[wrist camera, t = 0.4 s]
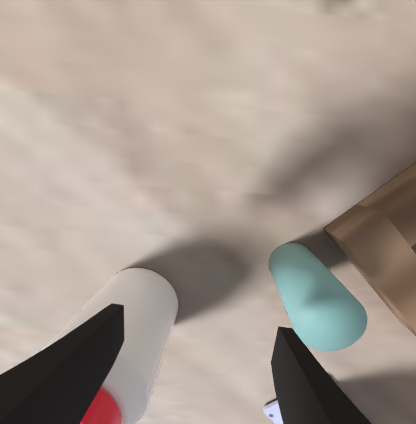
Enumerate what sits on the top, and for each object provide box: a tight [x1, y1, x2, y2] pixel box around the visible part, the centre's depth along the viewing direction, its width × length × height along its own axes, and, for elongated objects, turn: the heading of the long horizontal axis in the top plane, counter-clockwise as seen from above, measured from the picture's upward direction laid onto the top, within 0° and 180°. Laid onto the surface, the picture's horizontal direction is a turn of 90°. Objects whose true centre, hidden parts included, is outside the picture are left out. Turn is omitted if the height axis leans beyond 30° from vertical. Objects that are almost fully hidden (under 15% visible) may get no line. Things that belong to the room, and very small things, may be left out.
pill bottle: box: [41, 268, 178, 424], centre depth 15 cm, size 8×8×11 cm
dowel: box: [269, 243, 367, 351], centre depth 15 cm, size 4×4×7 cm
